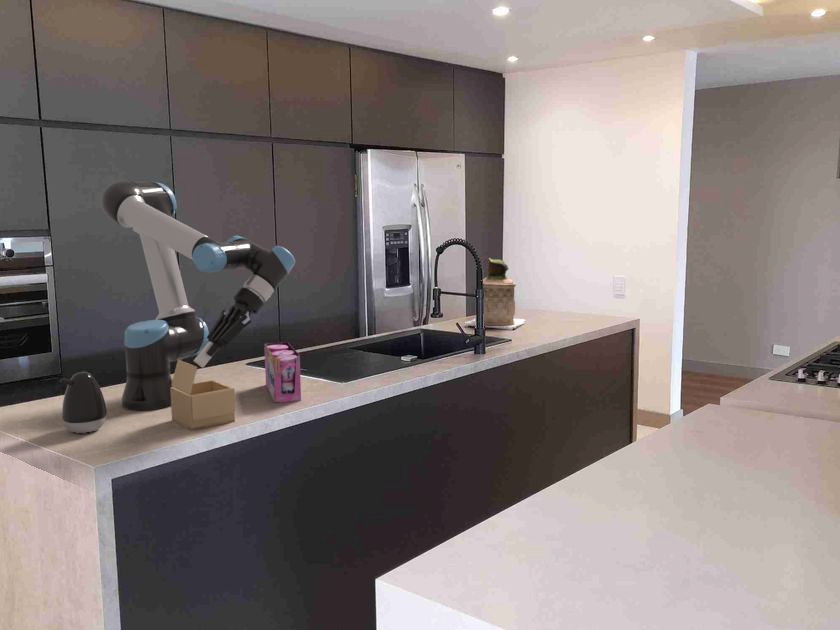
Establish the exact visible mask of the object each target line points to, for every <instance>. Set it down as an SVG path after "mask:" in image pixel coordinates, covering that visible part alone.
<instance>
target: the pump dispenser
mask: <svg viewBox="0 0 840 630" xmlns="http://www.w3.org/2000/svg"><path fill="white" fill-rule="evenodd" d="M59 383H60V384H65V385H67V386H66V390H65V392H64V395H63V400H62V402H63V403H62V408H61V409H62V412H61V415H62V416H61V418H62V419H61V420H62V421H63V422H64V424H65V426H66V428H67V429H68V430H69V431H70V432H72V433H74V432H75V433H74V434H79V433H84V434H87V433H86V432H90V433H93V432H92V431H94V432H95V431H98V430H99V429H100V428H101V427H102V426H103V425H104V423H105V421H106V417H107V415H108V412H107V405H106V401H105V398H104V395H103V394H104V393H103V392H102V390H101V387H100V385H99V384H98V382H97V380H96V378H95V377H94V376H93V375H92V374H91V373H90V372H87V371H79V372H77V373H74V374H73V375H72V377H71V378H70V379H68V378H60V379H59Z"/></svg>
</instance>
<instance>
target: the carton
mask: <svg viewBox="0 0 840 630" xmlns="http://www.w3.org/2000/svg"><path fill="white" fill-rule="evenodd" d="M170 391H171V406H170V409H171V421H173V422H175V424H177V425H180V426H182V427H184V428H185V427H186V428H185V429H187V428H188V429H187V430H189V431H191V432H193V431H197V429H198V430H201V429H205V428H211V427H215V426H220V425H224V424H228V423H229V424H230V423H234V422H236V418H235V417H236V415H235V414H236V399H235V398H236V397H235V396H236V395H235V388H234V387H232V386H229V385H227V384H224V383H222V382H219V381H217V380H215V379H210V380H205V381H199V382H193V386H192V390H191V394H189V393H186V392H184V391H182V390H180V389H178V388H176V387H170ZM192 430H193V431H192Z"/></svg>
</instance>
